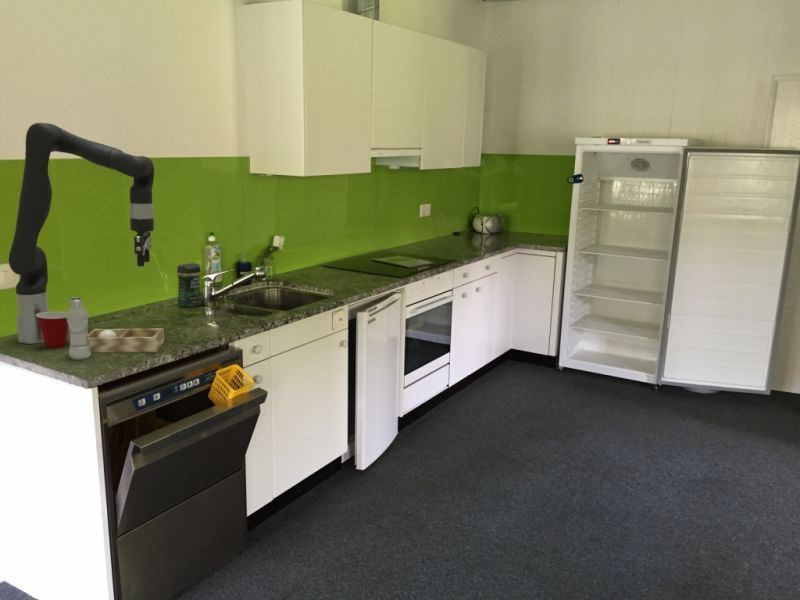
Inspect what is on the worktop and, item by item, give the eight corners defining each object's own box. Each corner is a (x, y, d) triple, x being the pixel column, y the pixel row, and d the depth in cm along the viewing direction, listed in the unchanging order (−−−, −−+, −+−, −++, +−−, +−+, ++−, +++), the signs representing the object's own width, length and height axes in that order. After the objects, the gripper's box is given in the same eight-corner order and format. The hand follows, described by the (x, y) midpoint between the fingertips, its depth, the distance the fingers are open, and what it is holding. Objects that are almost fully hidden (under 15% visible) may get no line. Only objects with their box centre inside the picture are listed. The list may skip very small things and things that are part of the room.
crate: (84, 354, 222) (82, 338, 220) (95, 344, 233) (94, 329, 232) (156, 353, 225) (155, 337, 224) (164, 343, 236) (163, 328, 235)
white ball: (96, 349, 225) (95, 332, 224) (101, 344, 231) (100, 327, 229) (115, 349, 226) (113, 332, 224) (119, 344, 231) (118, 327, 230)
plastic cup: (81, 346, 230) (78, 312, 228) (50, 354, 221) (46, 318, 219) (63, 341, 236) (60, 308, 234) (32, 348, 227) (29, 313, 225)
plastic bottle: (68, 363, 213) (62, 301, 208) (71, 356, 219) (66, 297, 215) (90, 361, 215) (85, 300, 210) (93, 355, 221) (88, 296, 217)
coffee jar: (187, 309, 286) (185, 266, 282) (175, 306, 290) (173, 264, 286) (205, 305, 294) (203, 263, 290) (193, 302, 298) (191, 261, 294)
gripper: (134, 214, 233) (136, 260, 237) (125, 218, 219) (127, 267, 223) (157, 214, 234) (159, 260, 238) (149, 219, 220) (150, 267, 224)
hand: (143, 264), depth 230 cm, fingers open, 8 cm apart
